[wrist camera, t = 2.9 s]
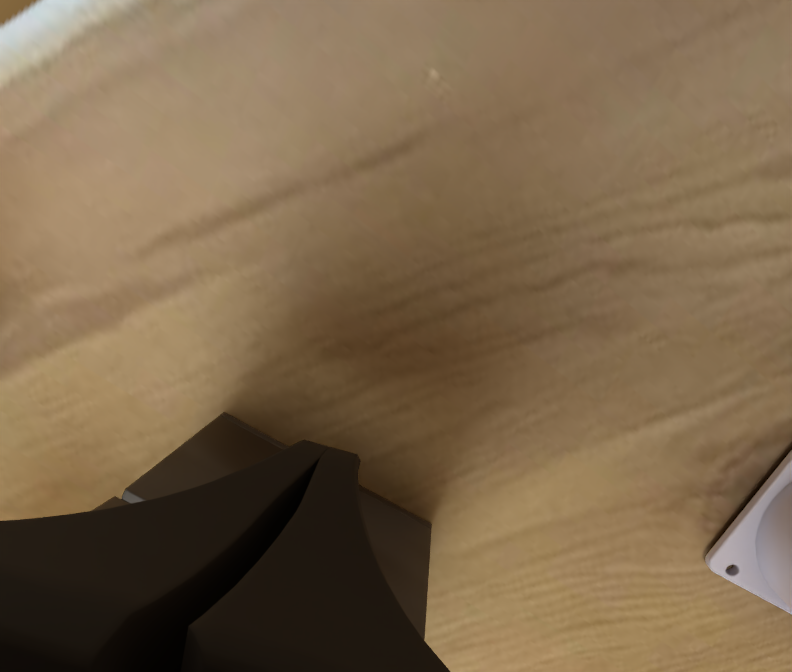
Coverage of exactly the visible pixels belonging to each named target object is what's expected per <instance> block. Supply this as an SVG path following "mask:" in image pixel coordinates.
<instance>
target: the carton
mask: <svg viewBox="0 0 792 672" xmlns="http://www.w3.org/2000/svg"><path fill="white" fill-rule="evenodd" d="M286 448H288V446H286V445H284V444H282V443H280V442H278V441H277V440H275V439H273V438H271V437H269V436H267V435H265V434H264V433H262V432H260V431H258V430H256V429H254V428H253V427H251V426H249V425H247V424H245V423H243V422H241V421H240V420H238V419H236V418H234V417H232V416H230V415H228V414H227V413H225V412H223V413H222V414H221V415H220V416H218V417H217V418H216V419H215V420H213V421H212V422H211V423H209V424H208V425H207V426H206V427H204V428H203V429H202V430H200V431H199V432H198V433H197V434H195V435H194V436H193V437H191V438H190V439H189V440H188V441H186V442H185V443H184V444H182V445H181V446H180V447H179V448H177V449H176V450H175V451H174V452H172V453H171V454H170V455H168V456H167V457H166V458H165V459H163V460H162V461H161V462H159V463H158V464H157V465H156V466H154V467H153V468H152V469H150V470H149V471H148V472H147V473H145V474H144V475H143V476H141V477H140V478H139V479H138V480H136V481H135V482H134V483H133V484H131V485H130V486H129V487H127V488H126V489H125V491H124V493H123V496H122V499H121V500H123V501H125V502H127V503H129V504H132V503H137V502H141V501H146V500H151V499H155V498H159V497H163V496H167V495H170V494H174V493H177V492H181V491H184V490H188V489H191V488H194V487H197V486H200V485H203V484H206V483H209V482H212V481H214V480H217V479H219V478H222V477H224V476H226V475H229V474H231V473H234V472H236V471H239V470H241V469H244V468H246V467H249V466H251V465H253V464H255V463H257V462H259V461H261V460H264V459H266V458H268V457H270V456H272V455H274V454H276V453H278V452H280V451H282V450H284V449H286ZM358 486H359V494H360V500H361V506H362V511H363V515H364V520H365V523H366V527H367V531H368V534H369V537H370V540H371V543H372V546H373V549H374V552H375V554H376V557H377V559H378V562H379V564H380V567H381V569H382V571H383V573H384V575H385V577H386V580H387V582H388V584H389V586H390V588H391V589H392V591H393V593H394V595H395V596H396V598H397V600H398V602H399V603H400V605H401V607H402V609H403V610H404V612H405V614H406V615H407V617H408V619H409V620H410V621H411V623H412V624H413V626H414V627H415V629H416V630H417V631H418V633H419V634H420V636H421V637H422V638H423V640H424V638H425V622H426V606H427V591H428V575H429V559H430V543H431V527H432V524H430V523H429V522H427V521H425V520H423V519H421V518H419V517H417V516H416V515H414V514H412V513H410V512H408V511H406V510H404V509H403V508H401V507H399V506H397V505H395V504H393V503H392V502H390V501H388V500H386V499H384V498H382V497H380V496H379V495H377V494H375V493H373V492H371V491H369V490H367V489H366V488H364V487H362V486H360V485H358Z"/></svg>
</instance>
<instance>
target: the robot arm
mask: <svg viewBox="0 0 792 672" xmlns="http://www.w3.org/2000/svg"><path fill="white" fill-rule="evenodd" d="M359 465H360V459H359V457H358V455H357V454H353V453H350V452H346V451H343V450H339V449H335V448H332V447H328V446H325V445H321V444H317V443H314V442H310V441H307V440H303V441H300V442H298V443H296V444H294V445H292V446H290V447H288V448H286V449H284V450H282V451H280V452H278V453H276V454H274V455H272V456H270V457H268V458H266V459H264V460H261V461H259V462H257V463H255V464H253V465H251V466H249V467H246V468H244V469H241V470H239V471H236V472H234V473H231V474H229V475H226V476H224V477H222V478H219V479H217V480H214V481H212V482H209V483H206V484H203V485H200V486H197V487H194V488H191V489H188V490H184V491H181V492H177V493H174V494H170V495H167V496H163V497H159V498H155V499H151V500H146V501H141V502H137V503H132V504H127V505H122V506H117V507H113V508H108V509H102V510H96V511H90V512H83V513H76V514H69V515H61V516H52V517H43V518H34V519H23V520H9V521H0V672H450V671H449V670H448V668H447V667H446V666H445V665H444V664H443V662H442V661H441V660H440V659H439V658H438V657H437V655H436V654H435V653H434V652H433V651H432V649H431V648H430V647H429V646H428V645H427V644H426V642H425V641H424V640H423V638H422V637H421V636H420V634H419V633H418V631H417V630H416V629H415V627H414V626H413V624H412V623H411V621H410V620H409V619H408V617H407V615H406V614H405V612H404V610H403V609H402V607H401V605H400V603H399V602H398V600H397V598H396V596H395V595H394V593H393V591H392V589H391V588H390V586H389V584H388V582H387V580H386V577H385V575H384V573H383V571H382V569H381V567H380V564H379V562H378V559H377V557H376V554H375V552H374V549H373V546H372V543H371V540H370V537H369V534H368V531H367V527H366V523H365V520H364V515H363V511H362V506H361V500H360V494H359V486H358V469H359ZM705 562H706V564H707V566H708V567H709V568H710V569H711V570H712V571H713V572H714V573H716V574H718V575H720V576H721V577H723V578H725V579H727V580H729V581H731V582H733V583H734V584H736V585H738V586H740V587H742V588H744V589H746V590H747V591H749V592H751V593H753V594H755V595H757V596H759V597H760V598H762V599H764V600H766V601H768V602H770V603H772V604H773V605H775V606H777V607H779V608H781V609H783V610H784V611H786V612H788V613H790V614H792V450H791V451H790V452H789V454H788V455H787V456H786V457H785V458H784V460H783V461H782V462H781V463H780V465H779V466H778V467H777V468H776V470H775V471H774V472H773V473H772V474H771V476H770V477H769V478H768V479H767V481H766V482H765V483H764V484H763V486H762V487H761V488H760V489H759V491H758V492H757V493H756V494H755V495H754V497H753V498H752V499H751V500H750V502H749V503H748V504H747V505H746V507H745V508H744V509H743V510H742V511H741V513H740V514H739V515H738V516H737V518H736V519H735V520H734V521H733V523H732V524H731V525H730V526H729V527H728V529H727V530H726V531H725V532H724V534H723V535H722V536H721V537H720V539H719V540H718V541H717V542H716V544H715V545H714V546H713V547H712V548H711V550H710V551H709V552H708V553H707V555H706V557H705ZM729 565H733V567H732V568H731V569H726V568H727V567H728V566H729Z"/></svg>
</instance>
